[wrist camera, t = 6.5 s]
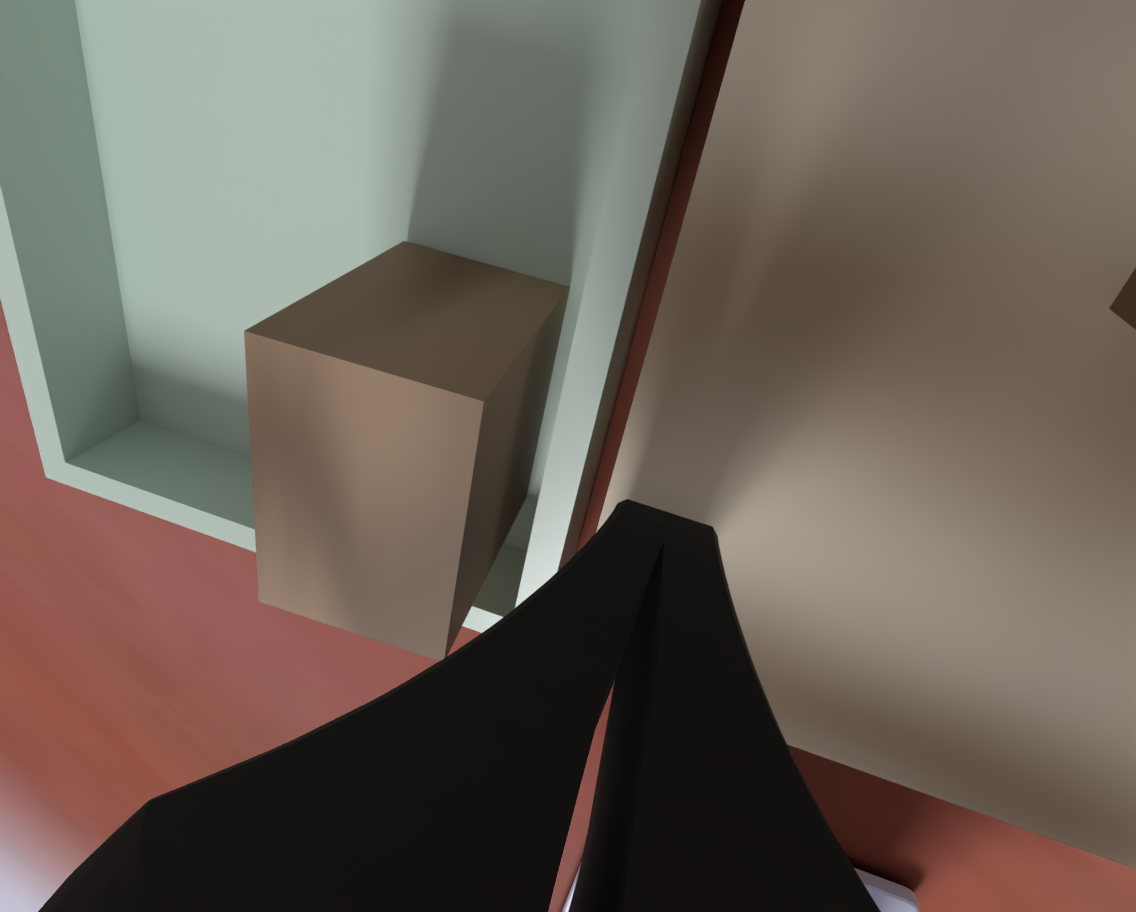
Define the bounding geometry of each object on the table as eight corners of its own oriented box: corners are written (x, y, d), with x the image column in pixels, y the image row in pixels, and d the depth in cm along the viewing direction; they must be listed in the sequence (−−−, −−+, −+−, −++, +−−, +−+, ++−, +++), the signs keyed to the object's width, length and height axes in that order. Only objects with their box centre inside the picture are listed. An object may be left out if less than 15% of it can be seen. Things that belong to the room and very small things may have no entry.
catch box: (570, 571, 16) (537, 652, 13) (138, 424, 17) (45, 477, 15) (845, -461, 7) (866, -658, 5) (-24, -583, 9) (-275, -782, 7)
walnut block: (443, 662, 10) (258, 601, 11) (526, 497, 14) (388, 455, 14) (484, 400, 8) (243, 330, 8) (570, 286, 12) (403, 241, 12)
